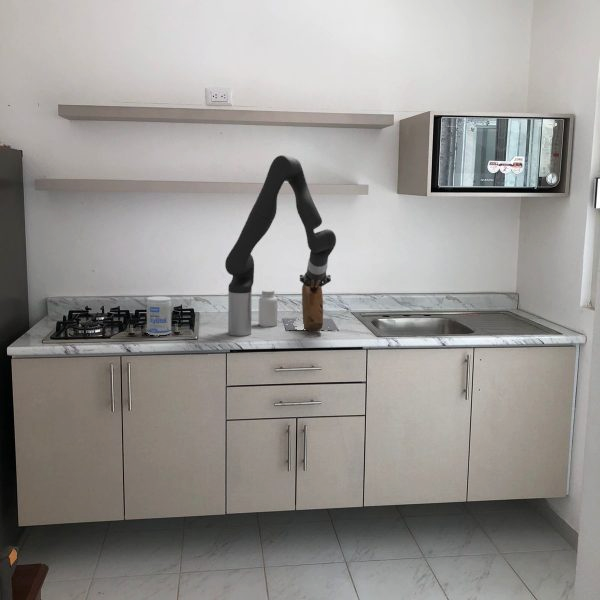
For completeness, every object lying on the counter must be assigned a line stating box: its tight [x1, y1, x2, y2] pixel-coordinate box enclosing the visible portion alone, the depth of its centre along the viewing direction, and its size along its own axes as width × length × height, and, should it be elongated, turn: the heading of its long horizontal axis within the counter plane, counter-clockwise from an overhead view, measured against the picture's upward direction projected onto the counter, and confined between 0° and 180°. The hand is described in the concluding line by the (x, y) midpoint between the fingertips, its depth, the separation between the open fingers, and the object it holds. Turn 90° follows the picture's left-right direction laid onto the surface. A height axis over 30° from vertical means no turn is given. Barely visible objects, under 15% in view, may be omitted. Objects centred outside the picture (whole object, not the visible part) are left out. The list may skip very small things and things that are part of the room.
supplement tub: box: [146, 295, 172, 337], centre depth 295 cm, size 10×10×15 cm
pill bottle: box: [258, 289, 278, 328], centre depth 316 cm, size 8×8×15 cm
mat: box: [282, 317, 340, 332], centre depth 319 cm, size 22×24×1 cm
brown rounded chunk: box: [301, 282, 324, 332], centre depth 305 cm, size 11×8×20 cm
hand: (313, 290), depth 303 cm, fingers closed
